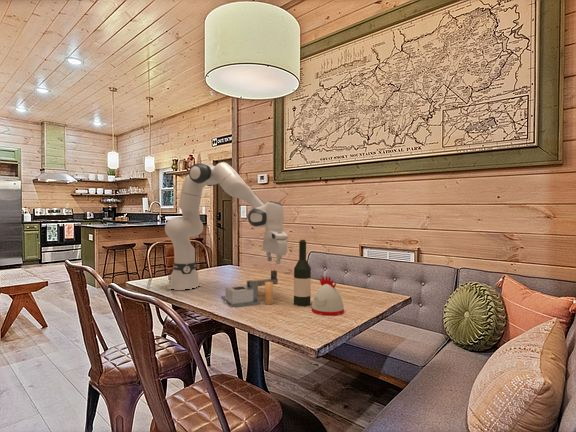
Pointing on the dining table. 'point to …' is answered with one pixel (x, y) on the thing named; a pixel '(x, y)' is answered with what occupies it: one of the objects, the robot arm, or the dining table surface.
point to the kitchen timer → (327, 299)
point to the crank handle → (262, 282)
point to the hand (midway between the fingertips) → (273, 262)
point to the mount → (242, 295)
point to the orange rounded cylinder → (268, 293)
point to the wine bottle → (302, 278)
